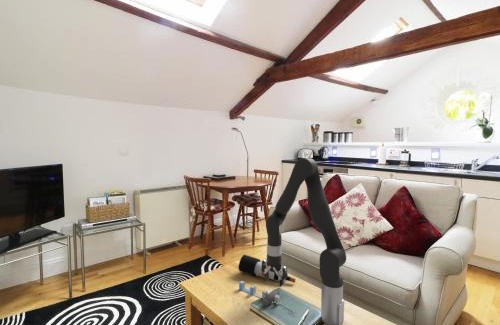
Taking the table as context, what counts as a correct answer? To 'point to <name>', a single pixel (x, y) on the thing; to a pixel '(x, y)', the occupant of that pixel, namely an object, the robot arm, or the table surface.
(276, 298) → the blue grey peg rack
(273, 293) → the gray elongated ellipsoid
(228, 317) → the table surface
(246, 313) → the table surface
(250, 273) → the cable
